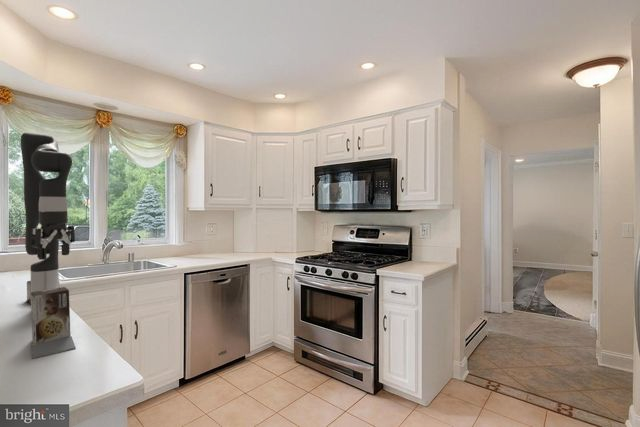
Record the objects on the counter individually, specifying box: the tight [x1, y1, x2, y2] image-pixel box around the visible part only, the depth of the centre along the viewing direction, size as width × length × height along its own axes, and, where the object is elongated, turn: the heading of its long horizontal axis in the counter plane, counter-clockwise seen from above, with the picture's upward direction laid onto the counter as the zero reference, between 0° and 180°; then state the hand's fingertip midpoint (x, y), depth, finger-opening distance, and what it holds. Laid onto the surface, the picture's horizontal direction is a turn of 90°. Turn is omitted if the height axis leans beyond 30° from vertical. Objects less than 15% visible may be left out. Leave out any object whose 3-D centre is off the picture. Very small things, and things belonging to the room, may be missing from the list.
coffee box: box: [30, 286, 71, 344], centre depth 107 cm, size 9×6×16 cm
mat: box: [31, 335, 76, 360], centre depth 99 cm, size 12×10×1 cm
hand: (54, 257), depth 109 cm, fingers open, 8 cm apart
